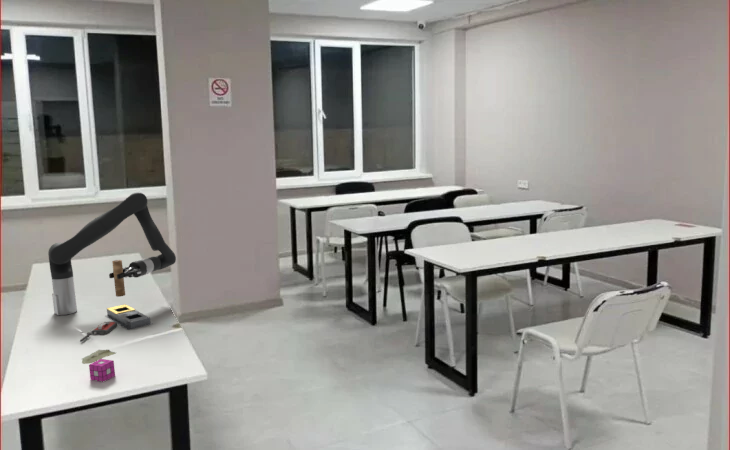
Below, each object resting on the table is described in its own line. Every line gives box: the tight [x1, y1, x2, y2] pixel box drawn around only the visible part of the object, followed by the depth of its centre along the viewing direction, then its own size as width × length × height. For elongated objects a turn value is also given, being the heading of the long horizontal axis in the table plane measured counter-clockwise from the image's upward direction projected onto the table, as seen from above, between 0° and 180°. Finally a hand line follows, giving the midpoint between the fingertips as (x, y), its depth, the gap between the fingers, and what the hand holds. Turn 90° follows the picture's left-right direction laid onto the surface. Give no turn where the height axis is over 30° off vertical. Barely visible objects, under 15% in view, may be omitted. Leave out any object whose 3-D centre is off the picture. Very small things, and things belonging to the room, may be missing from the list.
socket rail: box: [105, 304, 154, 331], centre depth 275 cm, size 11×28×4 cm, turn 42°
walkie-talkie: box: [79, 321, 118, 343], centre depth 259 cm, size 9×4×20 cm
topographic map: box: [81, 349, 117, 365], centre depth 232 cm, size 14×14×2 cm
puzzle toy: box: [88, 358, 116, 383], centre depth 213 cm, size 6×6×6 cm
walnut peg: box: [111, 259, 126, 298], centre depth 277 cm, size 4×4×16 cm
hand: (113, 276), depth 275 cm, fingers closed on walnut peg, 4 cm apart
